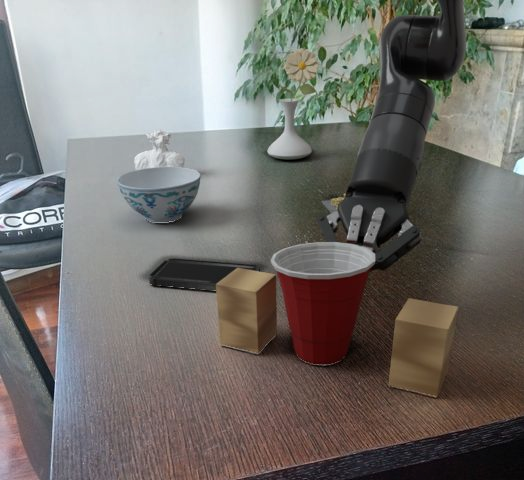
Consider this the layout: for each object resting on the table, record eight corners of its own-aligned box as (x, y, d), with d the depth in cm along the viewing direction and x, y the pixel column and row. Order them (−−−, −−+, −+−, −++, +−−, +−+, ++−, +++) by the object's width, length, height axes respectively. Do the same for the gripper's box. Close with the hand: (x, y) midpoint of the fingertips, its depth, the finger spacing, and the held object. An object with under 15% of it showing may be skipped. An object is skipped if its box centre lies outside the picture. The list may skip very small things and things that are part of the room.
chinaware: (132, 237, 99) (125, 192, 95) (117, 212, 111) (110, 172, 107) (214, 224, 104) (210, 181, 100) (191, 202, 116) (187, 163, 112)
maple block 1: (277, 335, 68) (276, 274, 64) (258, 355, 65) (256, 291, 60) (240, 327, 70) (237, 267, 66) (220, 346, 67) (215, 284, 62)
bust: (187, 186, 134) (191, 141, 135) (179, 173, 126) (183, 124, 128) (139, 186, 135) (143, 140, 137) (127, 172, 128) (132, 124, 129)
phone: (167, 257, 87) (261, 265, 84) (168, 264, 88) (262, 272, 84) (145, 278, 81) (246, 287, 77) (146, 285, 81) (247, 295, 78)
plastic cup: (336, 321, 71) (341, 229, 65) (387, 364, 62) (398, 262, 56) (257, 341, 67) (253, 245, 61) (299, 389, 59) (300, 283, 53)
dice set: (354, 200, 114) (354, 190, 113) (361, 208, 109) (362, 198, 108) (329, 202, 113) (329, 192, 112) (336, 210, 109) (336, 200, 108)
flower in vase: (261, 161, 144) (258, 50, 131) (274, 151, 153) (273, 46, 140) (311, 164, 140) (314, 50, 127) (322, 154, 149) (325, 46, 136)
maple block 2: (447, 373, 60) (458, 306, 56) (437, 399, 57) (448, 329, 53) (400, 363, 62) (408, 297, 58) (387, 387, 59) (395, 318, 55)
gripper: (328, 142, 68) (285, 276, 65) (441, 150, 62) (400, 296, 59) (341, 176, 74) (303, 299, 71) (444, 186, 69) (408, 319, 66)
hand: (347, 297), depth 65 cm, fingers closed
